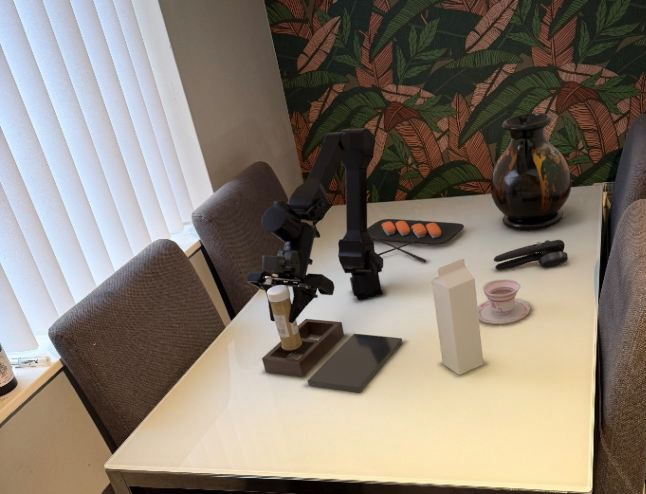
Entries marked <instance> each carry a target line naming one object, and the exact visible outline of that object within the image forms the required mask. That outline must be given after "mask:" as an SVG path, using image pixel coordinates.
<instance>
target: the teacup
mask: <svg viewBox="0 0 646 494" xmlns="http://www.w3.org/2000/svg"><path fill="white" fill-rule="evenodd" d="M520 289H521V284H520V283H519V282H518V281H517V280H513V279H507V278H500V279H493V280H490V281H487V282H486V283H484V284H483V285H482V291H483V293H484V296H485V297H486V299H487V300H488V301H485V302H484V303H482V304H480V305H479V306H478V315H479V322H483V323H486V324H490V325H491V324H492V325H504V324H511V323H515V322H517V321H520V320H522V319H524V318H526V317H527V316H528V315H529V314H530V311H531V307H530V305H529V303H527V302H526V301H525V300H523V299H519V298H516V296H517V293H518V292H519V291H520Z"/></svg>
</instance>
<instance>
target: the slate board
mask: <svg viewBox="0 0 646 494" xmlns="http://www.w3.org/2000/svg"><path fill="white" fill-rule="evenodd" d="M403 343H404V342H403V338H402V337H393V336H384V335H383V336H382V335H372V334H362V333H352V335H351V336H350V337H349V338H348V339H347V340H346V341H345V342H344V343H343V344H342V345H341V346H340V347H339V348H338V349H337V350H336V351H335V352H334V353H333V354H332V355H331V356H330V357H329V358H328V359H327V360H326V361H325V362H324V363H323V364H322V365H321V367H319V368H318V369H317V370H316V372H315V373H313V374H312V376H310V378H308V380H307V384H308V386H310V387H316V388H323V389H324V388H325V389H331V390H340V391H346V392H353V393H361V392H362V391H363V389H364V388H365V387H366V386H367V384H369V382H370V381H371V380H372V379H373V378H374V377H375V376H376V374H377V373H378V372H379V371H380V370H381V369H382V368H383V366H385V364H386V363H387V362H388V361H389V360H390V358H392V356H393V355H394V354H395V352H396V351H397V350H398V349H399V348H400V347H401V346H402V345H403Z"/></svg>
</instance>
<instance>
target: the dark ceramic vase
mask: <svg viewBox="0 0 646 494" xmlns="http://www.w3.org/2000/svg"><path fill="white" fill-rule="evenodd" d="M552 122H553V117H552V116H551V115H550V114H548V113H542V112H530V113H523V114H517V115H514V116H511V117H509V118H506V119H504V121H503V122H502V124H501V127H502V129H504V130H506V131H508V132H509V135H510V142H509V143H508V145H507V147H506V148H505V149H504V151H503V152H502V153H501V155H499V157H498V159H497V160H496V162H495V165H494V167H493V171H492V174H491V178H490V179H491V180H490V193H491V198H492V200H493V203H494V204H495V207H497V209H498V210H499V211H500V212H501V213H502V214H504V215H503V216H502V223H503V224H504V226H506V227H507V228H509V229H511V230H515V231H519V232H534V231H540V230H541V231H542V230H544V229H548V228H551V227H553V226H555V225H556V224H558V223H560V221H561V220H562V219H563V215H564V212H563V210H562V209H561V208H562V207H563V206H564V205H565V204H566V202H567V201H568V200H569V197H570V194H571V191H572V175H571V171H570V167H569V165H568V162H567V160H566V158H565V157H564V155H563V154H562V153H561V151H560V150H559V149H558V148H557V147H555V146H554V144H552V142H550V141H549V140H548V138H547V137H546V134H545V130H546V127H547V126H549V125H550V124H552Z"/></svg>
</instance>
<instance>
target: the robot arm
mask: <svg viewBox="0 0 646 494" xmlns="http://www.w3.org/2000/svg"><path fill="white" fill-rule="evenodd" d="M375 146H376V137H375V134H374V133H373V132H371V130H370V129H369V128H368V127H364V128H363V127H361V128H358V127H357V128H343V129H341V130H340V131H339V132H338V131H336V132H328V133H325V134H324V136H323V138H322V145H321V148H320V150H319V152H318V154H317V157H316V159H315V161H314V163H313V165H312V167H311V170H310V171H309V174H308V176H307V178H306V180H305V181H304V182H303V183H301V184H300V185H298V186H297V187H296V188H295V190H294V191H293V193H292V194H291V196H290V197H289V199H288V201H287V202H285V201H283V200H274V201H273V205H272V206H270V207H268V209H267V210H265V212H264V214H263V215H262V216H261V227H262V228H263V229H264V230H265V231H266V232H268V233H269V234H270V235H272V236H274V237H275V238H277V239H278V240H279V241H281V242H283V243H284V246H283V249H279V251H278V252H277V255H262V257H261V258H262V262H261V264H262V266H261V268H262V269H261V270H257V269H251V270H250V271H249V272H248V273H247V276H246V283H248V284H250V285H251V286H253V287H254V288H257V289H258V290H261V291H264V292H265V294H266V297H267V304H268V312H269V318H270V319H269V320H270V321H271V322H275V320H274V316H273V311H272V307H271V303H270V301H269V299H268V296H267V291H268V290H269V289H270V288H272V287H274V286H277V285H286V286H287V287H288V288H289V287H290V288H292V293H293V296H292V297H293V298H292V300H291V303H292V306H291V310H290V315H289V322H290V323H293V322H294V321H295V320H296V321H297V319H298V317H299V316H300V314H301V313H303V311H304V310H305V309H306V307H307V306H308V305H309V304H310V303H312V301H313V300H314V299H317V298H319V295H318V294H317V291H318V292H319V294H320V295H324V296H333V295H334V292H335V287H336V286H335V284H334V281H333V280H331V279H330V278H329V277H328V276H326V275H324V274H323V273H310V272H309V273H307V272H308V268H309V266H312V265H313V262H314V260H313V259H311V256H312V255H311V254H312V250H313V246H314V241H315V239H320V238H321V234H320V231H319V230H318V228H317V225H316V224H309V223H308V222H320V221H322V220H323V219H324V218H325V216H326V213H327V209H328V206H329V204H330V200H329V197H328V191H329V188H330V186H331V184H332V182H333V180H334V177H335V175H336V172H337V170H338V168H339V166H340V163H342V165H343V167H344V168H345V214H346V215H345V217H346V221H345V222H346V224H345V225H346V227H345V228H346V232H345V233H344V235H343V237H342V238H341V239H339V240H338V241H337V245H338V254H337V257H338V261H339V264H340V265H341V268H342V271H343V272H344V274H351V276H350V277H349V282H350V286H351V291H352V293H353V294H352V295H353V297H356V299H357V301H364V300H367V299H371V298H375V297H379V296H383V295H384V291H383V289H382V285H381V279H380V275H379V274H380V273H381V272H383V268H384V258H383V257H382V255H380V256H379V255H378V254H379V253H377V252H376V250H375V249H376V248H375V242H374V240H372V239H371V237H370V235H369V234H368V232H367V228H368V167H369V165H370V164H371V162H372V160H373V158H374V155H375ZM268 271H269V272H268ZM270 272H271V273H270ZM275 275H277V276H275Z"/></svg>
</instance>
